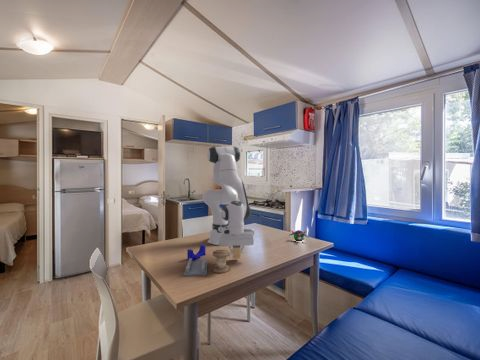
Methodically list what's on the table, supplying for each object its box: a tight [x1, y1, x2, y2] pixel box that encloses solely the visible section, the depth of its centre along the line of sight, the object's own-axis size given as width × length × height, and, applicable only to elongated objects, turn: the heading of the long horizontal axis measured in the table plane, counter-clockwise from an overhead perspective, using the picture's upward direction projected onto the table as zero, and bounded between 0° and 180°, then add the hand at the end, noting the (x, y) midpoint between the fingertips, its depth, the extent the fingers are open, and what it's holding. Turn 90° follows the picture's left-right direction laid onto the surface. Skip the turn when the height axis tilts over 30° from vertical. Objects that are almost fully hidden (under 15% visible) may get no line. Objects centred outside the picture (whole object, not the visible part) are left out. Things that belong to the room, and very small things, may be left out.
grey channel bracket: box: [183, 257, 208, 277], centre depth 120 cm, size 16×11×4 cm
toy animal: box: [289, 229, 310, 241], centre depth 169 cm, size 11×15×10 cm
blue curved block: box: [187, 244, 207, 262], centre depth 137 cm, size 12×4×6 cm, turn 145°
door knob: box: [212, 249, 231, 274], centre depth 119 cm, size 9×9×9 cm
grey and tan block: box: [232, 246, 241, 260], centre depth 132 cm, size 4×4×7 cm
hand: (236, 252), depth 132 cm, fingers closed on grey and tan block, 4 cm apart
